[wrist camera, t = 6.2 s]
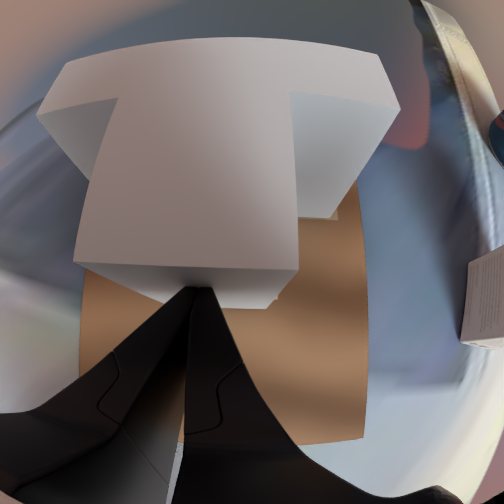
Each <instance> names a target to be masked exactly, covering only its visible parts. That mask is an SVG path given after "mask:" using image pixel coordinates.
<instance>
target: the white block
mask: <svg viewBox="0 0 504 504" xmlns="http://www.w3.org/2000/svg"><path fill="white" fill-rule="evenodd" d="M400 110H401V109H400V106H399V104H398V101H397V98H396V96H395V93H394V91H393V88H392V86H391V84H390V81H389V79H388V77H387V74H386V72H385V70H384V68H383V66H382V63H381V61H380V59H379V57H378V55H376V54H372V53H368V52H363V51H359V50H354V49H349V48H344V47H338V46H333V45H327V44H320V43H313V42H304V41H295V40H285V39H270V38H247V37H223V38H198V39H185V40H174V41H165V42H158V43H150V44H144V45H138V46H132V47H127V48H122V49H117V50H112V51H108V52H103V53H99V54H95V55H91V56H87V57H84V58H80V59H77V60H73V61H70V62H67V63H66V64H65V66H64V67H63V69H62V70H61V72H60V74H59V75H58V77H57V79H56V80H55V82H54V83H53V85H52V87H51V89H50V90H49V92H48V94H47V95H46V97H45V99H44V101H43V102H42V104H41V106H40V108H39V110H38V112H37V114H36V117H37V119H38V120H39V121H40V122H41V124H42V125H43V126H44V127H45V128H46V130H47V131H48V133H49V134H50V135H51V136H52V138H53V139H54V140H55V141H56V142H57V144H58V145H59V146H60V147H61V149H62V150H63V151H64V152H65V153H66V155H67V156H68V157H69V158H70V159H71V160H72V162H73V163H74V164H75V165H76V166H77V167H78V169H79V170H80V171H81V172H82V173H83V174H84V176H85V177H86V178H87V179H88V180H89V181H90V183H89V186H88V190H87V194H86V198H85V202H84V206H83V210H82V215H81V219H80V224H79V229H78V234H77V239H76V245H75V251H74V257H73V262H75V263H77V264H79V265H81V266H83V267H85V268H87V269H89V270H91V271H93V272H95V273H97V274H99V275H101V276H103V277H105V278H107V279H109V280H112V281H114V282H116V283H118V284H120V285H122V286H125V287H127V288H129V289H131V290H134V291H136V292H138V293H140V294H143V295H145V296H147V297H150V298H152V299H154V300H157V301H159V302H161V303H164V304H165V303H166V302H167V301H168V300H169V299H171V298H172V297H173V296H174V295H175V294H176V293H177V292H179V291H180V290H181V289H182V288H183V287H185V286H191V287H198V289H199V287H212V288H213V289H214V292H215V294H216V297H217V299H218V302H219V304H220V307H221V308H241V309H267V307H268V306H269V305H270V304H271V303H272V302H273V300H274V299H275V298H276V297H277V296H278V294H279V293H280V292H281V291H282V290H283V288H284V287H285V286H286V285H287V284H288V282H289V281H290V280H291V279H292V278H293V276H294V275H295V274H296V273H297V272H298V270H299V248H298V217H312V218H330V217H331V215H332V214H333V212H334V211H335V210H336V208H337V207H338V205H339V204H340V202H341V201H342V199H343V198H344V196H345V195H346V193H347V192H348V190H349V189H350V187H351V186H352V184H353V183H354V181H355V180H356V178H357V177H358V175H359V174H360V172H361V171H362V169H363V168H364V166H365V165H366V163H367V162H368V160H369V159H370V157H371V156H372V154H373V153H374V151H375V149H376V148H377V146H378V145H379V143H380V142H381V140H382V139H383V136H384V135H385V134H386V132H387V131H388V129H389V127H390V126H391V124H392V123H393V121H394V119H395V118H396V116H397V115H398V113H399V111H400Z"/></svg>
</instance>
